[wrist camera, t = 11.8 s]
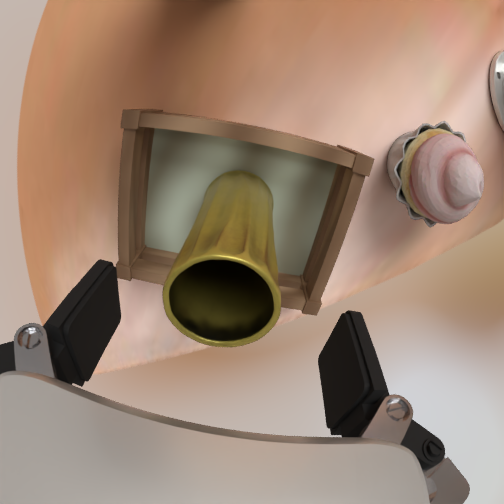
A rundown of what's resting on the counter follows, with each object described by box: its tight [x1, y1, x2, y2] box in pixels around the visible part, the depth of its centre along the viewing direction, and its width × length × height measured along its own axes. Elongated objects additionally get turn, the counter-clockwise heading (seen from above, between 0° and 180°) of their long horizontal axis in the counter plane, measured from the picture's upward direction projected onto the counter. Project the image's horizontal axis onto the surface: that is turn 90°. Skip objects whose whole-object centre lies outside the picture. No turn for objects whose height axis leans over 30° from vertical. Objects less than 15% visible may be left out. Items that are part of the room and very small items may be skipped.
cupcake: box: [387, 121, 484, 227], centre depth 19 cm, size 9×9×10 cm
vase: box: [163, 170, 281, 347], centre depth 18 cm, size 6×6×14 cm
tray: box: [116, 109, 374, 315], centre depth 23 cm, size 18×14×5 cm
